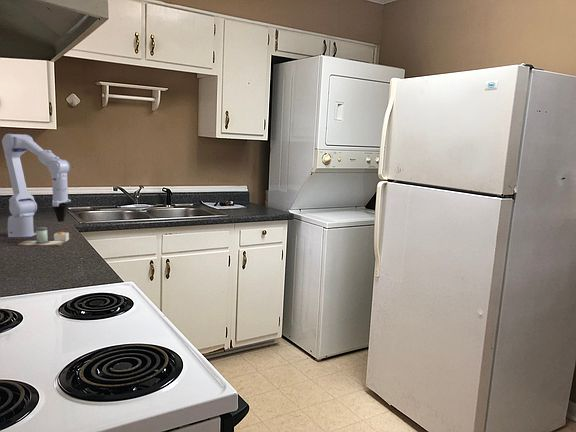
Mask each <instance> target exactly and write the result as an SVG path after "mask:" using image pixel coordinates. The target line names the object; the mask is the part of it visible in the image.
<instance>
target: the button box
mask: <svg viewBox="0 0 576 432" xmlns="http://www.w3.org/2000/svg"><path fill="white" fill-rule="evenodd" d="M53 241H66V242H68V241H70V233H69V232H65V234H58V232H55V233H54V234H53Z"/></svg>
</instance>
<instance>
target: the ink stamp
mask: <svg viewBox="0 0 576 432" xmlns="http://www.w3.org/2000/svg"><path fill="white" fill-rule="evenodd" d="M35 233H36V241H37V243H47V242H48V241H49V240H48V237H49V236H48V227H46V226H39V227H36V228H35Z"/></svg>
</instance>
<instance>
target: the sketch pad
mask: <svg viewBox="0 0 576 432" xmlns="http://www.w3.org/2000/svg"><path fill="white" fill-rule="evenodd" d="M66 242H67V241H54V240H48V242H47V243H37V240H23V241H21V242H20V243H18V244H17V247H19V246H20V247H21V246H22V247H24V246H25V247H26V246H27V247H38V246H39V247H61V246H62V245H64V244H65V243H66Z"/></svg>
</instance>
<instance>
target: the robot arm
mask: <svg viewBox="0 0 576 432" xmlns="http://www.w3.org/2000/svg"><path fill="white" fill-rule="evenodd" d="M2 137H3V138H2V139H1V145H2V148H3V153H4V157H5V162H6V166H7V171H8V176H9V179H10V184H11V188H12V192H13V193H12V196H11V197H10V198H9V199H8V202H9V203H8V204H9V206H8V209H9V213H10V215H9V216H8V219H7V237H8V238H32V237H34V236H35V235H36V232H34V230H35V229H34V215H35V213H36V212H37V210H38V204H37V202H36V201H35V198H34V196H33V195H32V194H31V193H29V192H28V189H27V183H26V179H25V175H24V174H25V173H24V170H23V166H22V161H21V156H22V155H23V154H25V153H26V152H27V151H29V152H30V153H32V154H34V155H35V156H36V157H37V160H38V161H39V162H40V163H41V164H43V165H44V166H46V168H48V172H49V173H50V177H51V179H52V180H51V181H52V183H51V184H52V201H51V203H52V204H51V208H52V209H53V211H54V213H55V216H56V221H57V222H58V223H59V222H60V223H61V222H65V219H66V214H67V211H68V208H69V206H70V202H71V201H72V200H71V199H69V197H68V196H69V195H68V194H69V193H68V191H69V190H68V189H69V188H68V174H69V173H70V171H71V164H70V162H69V161H68V160H66V159H60V156H57V155H55V153H53V151H52V150H51V149H43V148H42V147H41V146H40V145H38V144H37V143H36V142H35V141H34V139H33V137H32V136H30V134H26V133H24V134H20V133H19V134H18V133H15V134H14V133H6V134H5V135H4V136H2Z"/></svg>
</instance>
